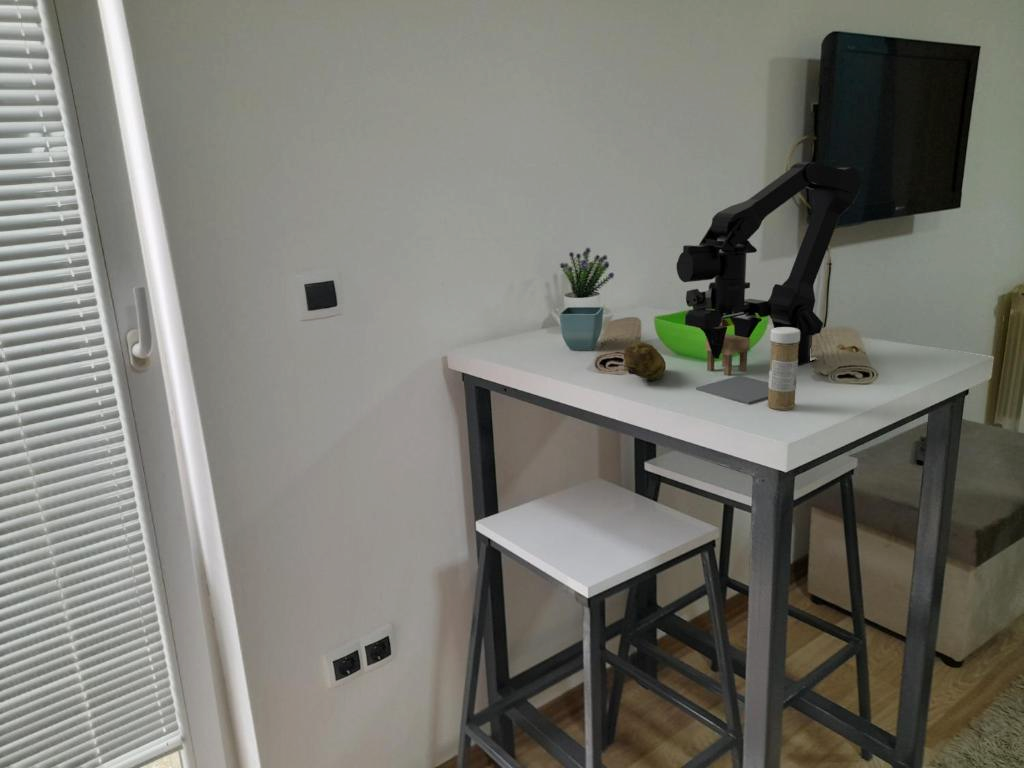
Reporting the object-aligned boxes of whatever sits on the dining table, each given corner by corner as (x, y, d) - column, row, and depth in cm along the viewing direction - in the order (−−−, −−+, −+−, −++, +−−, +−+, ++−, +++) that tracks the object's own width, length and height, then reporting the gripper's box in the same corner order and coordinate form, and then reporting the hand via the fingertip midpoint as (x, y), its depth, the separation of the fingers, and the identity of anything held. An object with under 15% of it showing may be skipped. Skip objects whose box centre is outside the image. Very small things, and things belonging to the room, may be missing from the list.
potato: (682, 375, 146) (683, 335, 144) (646, 390, 137) (646, 349, 135) (647, 369, 152) (647, 331, 149) (609, 383, 143) (609, 343, 141)
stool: (725, 364, 152) (726, 333, 150) (748, 370, 147) (750, 338, 145) (704, 370, 149) (705, 338, 147) (728, 376, 144) (729, 343, 142)
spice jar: (774, 401, 128) (778, 325, 124) (800, 406, 125) (805, 328, 121) (762, 408, 125) (766, 330, 121) (788, 413, 122) (793, 333, 118)
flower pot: (559, 352, 169) (558, 313, 166) (567, 343, 177) (566, 306, 174) (597, 353, 166) (596, 314, 164) (604, 344, 174) (603, 306, 172)
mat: (739, 377, 143) (739, 375, 143) (792, 390, 133) (793, 388, 133) (696, 389, 136) (696, 387, 136) (748, 404, 127) (748, 402, 127)
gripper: (730, 268, 154) (727, 341, 158) (665, 279, 144) (664, 356, 149) (774, 273, 145) (770, 350, 149) (708, 285, 135) (706, 367, 140)
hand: (727, 355), depth 147 cm, fingers closed on stool, 6 cm apart
